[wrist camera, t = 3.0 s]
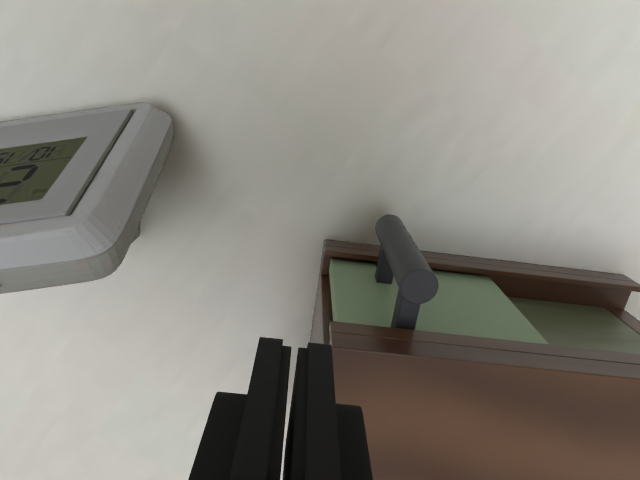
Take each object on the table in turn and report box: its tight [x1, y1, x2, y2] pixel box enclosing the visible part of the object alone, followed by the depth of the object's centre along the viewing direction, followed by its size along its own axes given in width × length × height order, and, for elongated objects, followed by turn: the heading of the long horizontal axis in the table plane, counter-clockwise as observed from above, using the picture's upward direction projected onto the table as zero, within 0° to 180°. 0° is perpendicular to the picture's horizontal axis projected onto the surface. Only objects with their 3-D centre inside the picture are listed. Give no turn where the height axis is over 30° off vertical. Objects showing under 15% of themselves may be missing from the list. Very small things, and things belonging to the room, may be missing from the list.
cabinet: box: [310, 240, 640, 480], centre depth 23 cm, size 12×18×11 cm, turn 83°
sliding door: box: [329, 215, 549, 344], centre depth 21 cm, size 4×9×8 cm, turn 82°
